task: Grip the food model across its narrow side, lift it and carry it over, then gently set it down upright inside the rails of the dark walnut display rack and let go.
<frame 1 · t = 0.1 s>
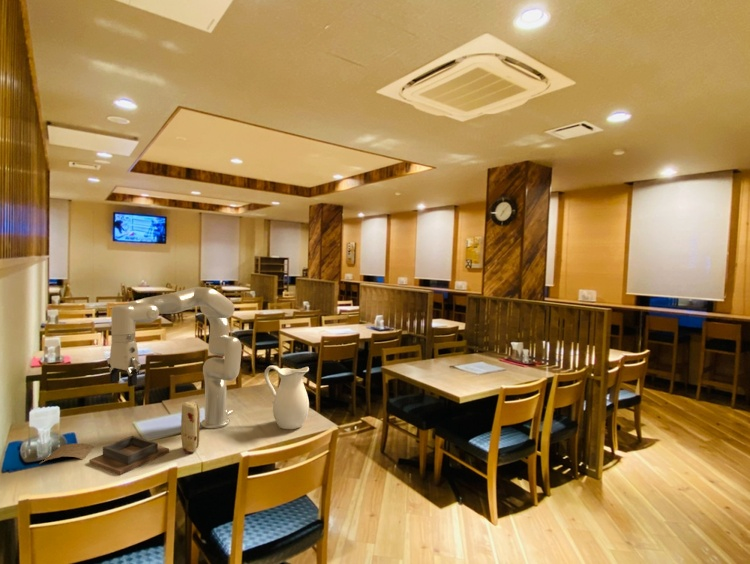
hand: (123, 383, 151), 31 cm above the table, fingers open, 9 cm apart
food model: (190, 451, 165), on the table
pitcher: (284, 423, 196), on the table
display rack: (130, 457, 158), on the table
brown curved panel: (67, 457, 158), on the table
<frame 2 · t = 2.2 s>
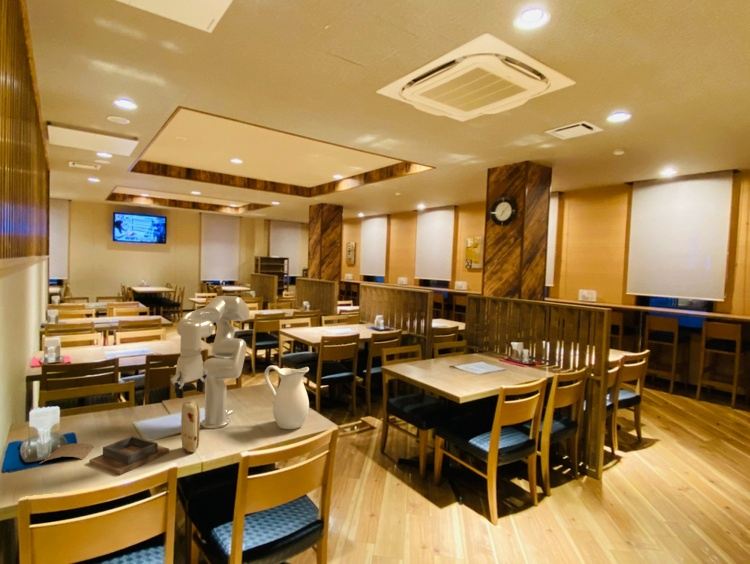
hand: (189, 394, 164), 23 cm above the table, fingers open, 9 cm apart
nothing on the table moved.
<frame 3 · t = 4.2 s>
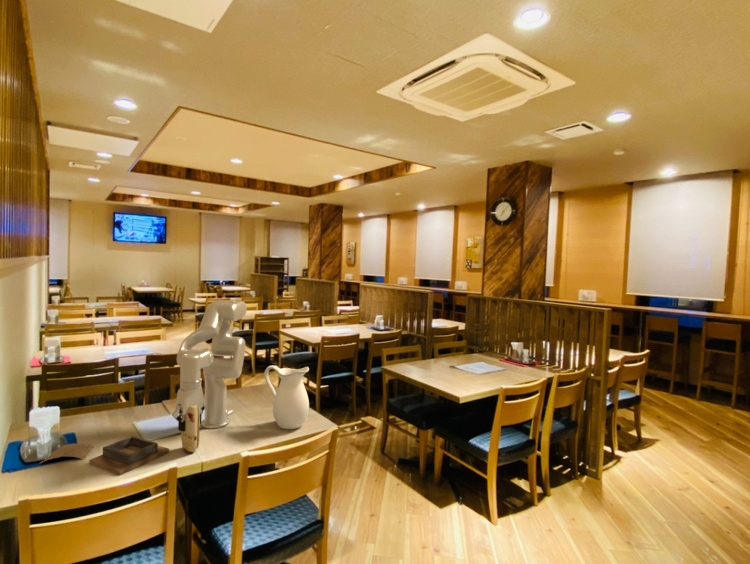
hand: (190, 426, 165), 10 cm above the table, fingers closed on food model, 7 cm apart
food model: (189, 450, 165), on the table, touching gripper
everything else where it was.
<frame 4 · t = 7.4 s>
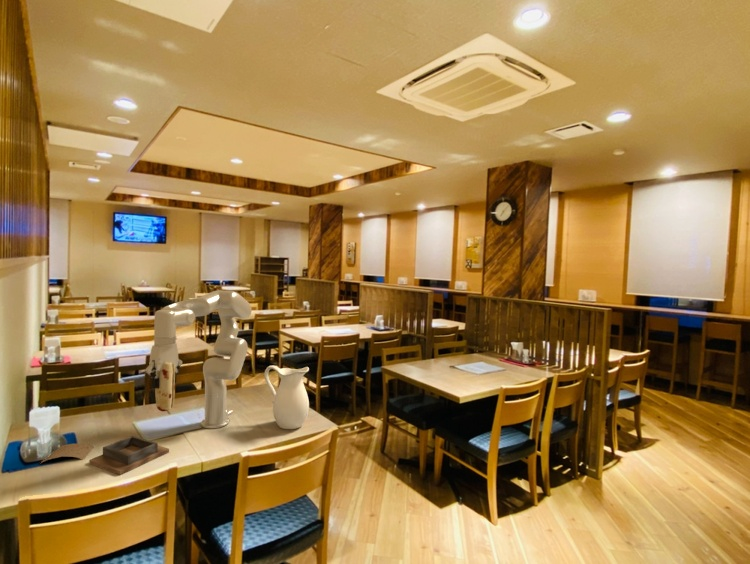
hand: (164, 385, 161), 28 cm above the table, fingers closed on food model, 7 cm apart
food model: (164, 409, 161), point 18 cm above the table, touching gripper
everything else where it was.
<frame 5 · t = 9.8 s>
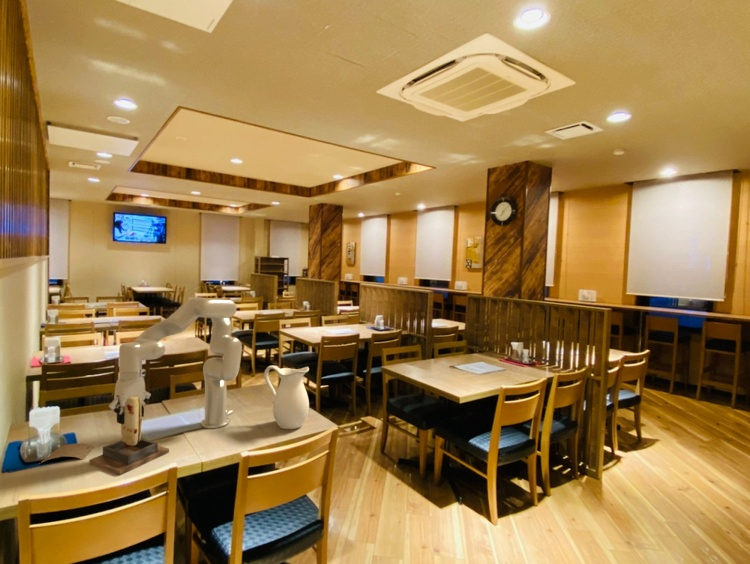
hand: (130, 419, 157), 15 cm above the table, fingers closed on food model, 7 cm apart
food model: (130, 444, 158), point 5 cm above the table, touching gripper
everything else where it was.
when the fingers open (13 cm above the table, at t = 10.7 s): food model drops 2 cm, resting on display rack.
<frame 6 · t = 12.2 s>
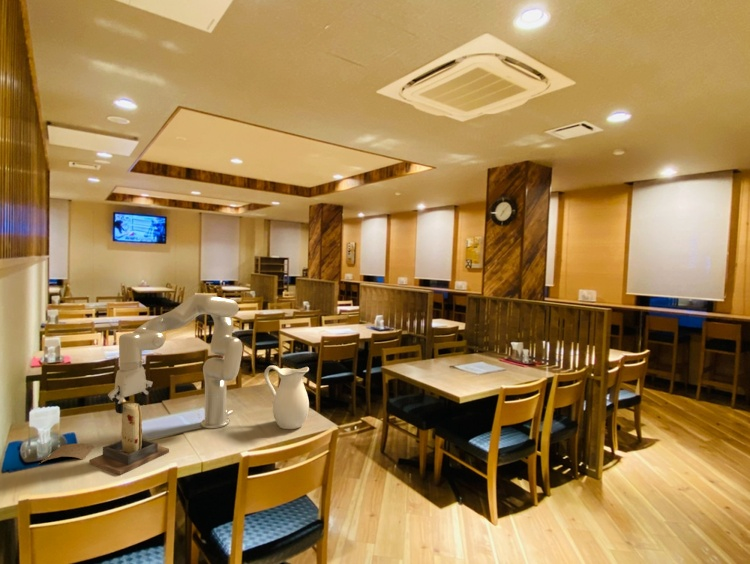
hand: (131, 408, 157), 19 cm above the table, fingers open, 9 cm apart
food model: (131, 454, 158), point 1 cm above the table, touching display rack
everything else where it was.
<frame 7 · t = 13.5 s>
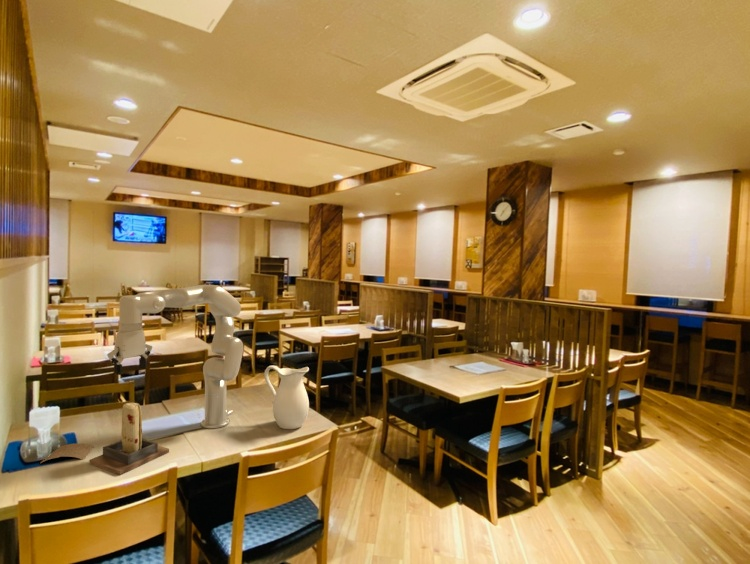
hand: (130, 371, 156), 34 cm above the table, fingers open, 9 cm apart
nothing on the table moved.
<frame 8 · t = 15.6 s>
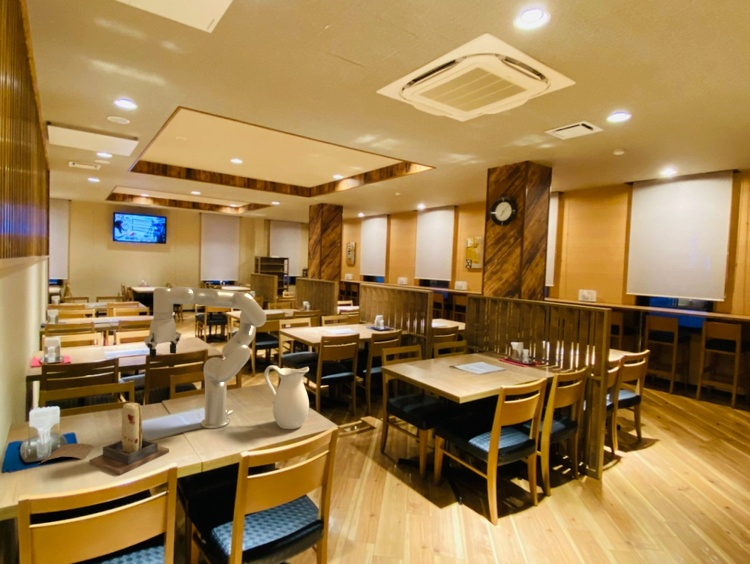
hand: (163, 355, 175), 36 cm above the table, fingers open, 9 cm apart
nothing on the table moved.
at the end: food model 0.4 cm off-centre on the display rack, point 1.3 cm above the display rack's base; food model tilted 0°; the gripper is holding nothing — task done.
